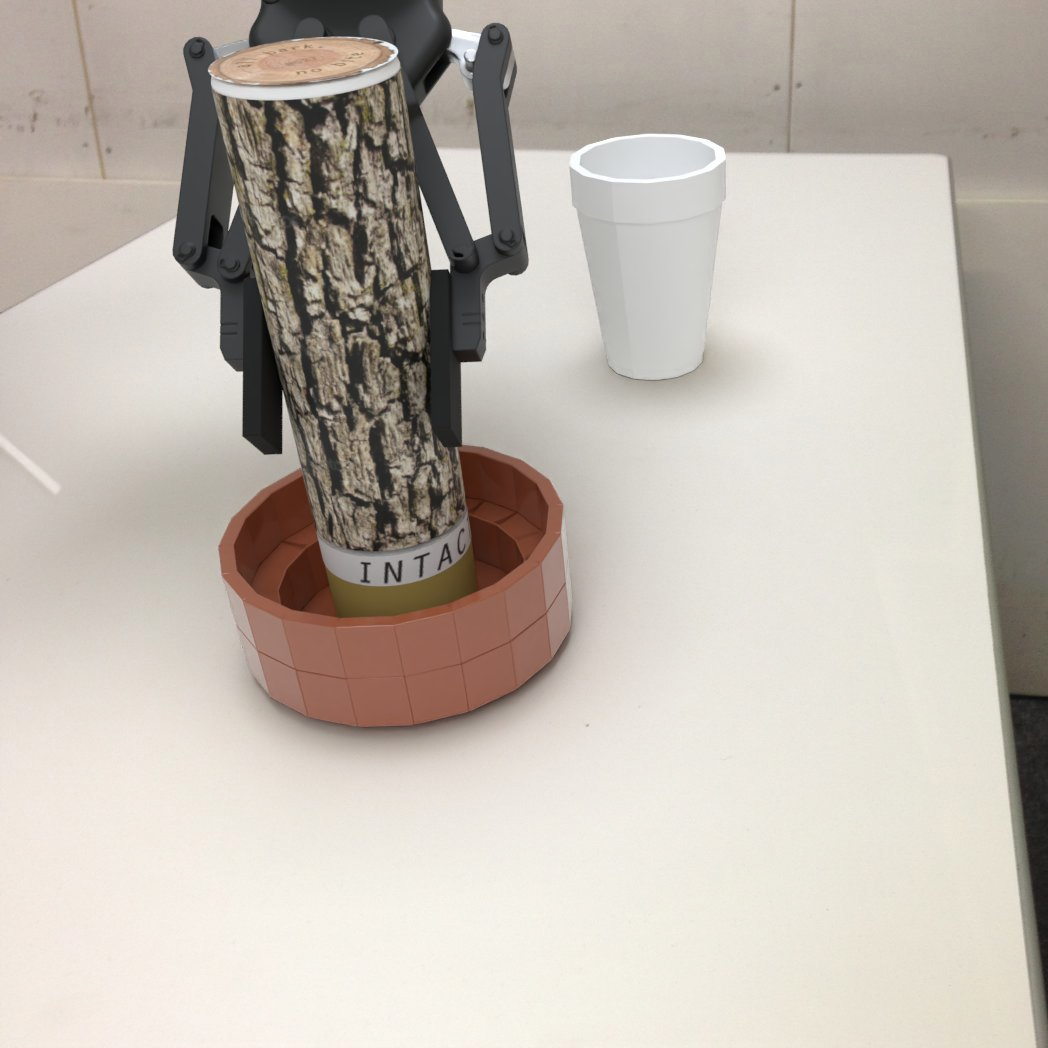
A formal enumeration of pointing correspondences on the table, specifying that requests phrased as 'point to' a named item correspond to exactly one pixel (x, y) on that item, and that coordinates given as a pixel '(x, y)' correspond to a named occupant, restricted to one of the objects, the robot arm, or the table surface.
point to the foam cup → (650, 246)
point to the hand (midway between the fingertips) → (354, 440)
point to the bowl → (412, 638)
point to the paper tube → (349, 311)
